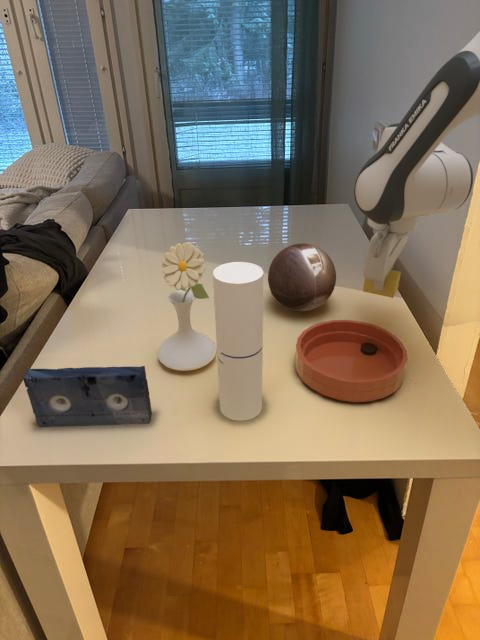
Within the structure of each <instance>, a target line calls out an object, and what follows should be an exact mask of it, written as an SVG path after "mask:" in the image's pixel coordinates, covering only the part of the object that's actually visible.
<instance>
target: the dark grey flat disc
mask: <svg viewBox="0 0 480 640" xmlns="http://www.w3.org/2000/svg"><path fill="white" fill-rule="evenodd" d="M360 351H361V352H362V353H363V354H365V355H374V354H376V351H377V347H376V346H375V345H374V344H372V343H363V344H362V345H361V349H360Z"/></svg>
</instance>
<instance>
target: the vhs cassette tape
mask: <svg viewBox="0 0 480 640" xmlns="http://www.w3.org/2000/svg"><path fill="white" fill-rule="evenodd" d="M22 381H23V383H24V387H25V388H27V389H26V393H27V396H28V399H29V401H30V405H31V408H32V412H33V415H34V416H35V421H36V423H37V426H38V427H40V428H43V427H45V428H47V427H73V426H108V425H109V426H110V425H136V424H139V425H140V424H149V423H150V422H151V418H152V415H153V411H152V404H151V397H150V390H149V389H150V388H149V385H148V379H147V372H146V366H145V365H142V366H106V367H105V366H89V367H87V366H86V367H63V368H27V371H26V372H25V373H24V375H23V378H22Z"/></svg>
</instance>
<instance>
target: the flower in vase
mask: <svg viewBox="0 0 480 640" xmlns="http://www.w3.org/2000/svg"><path fill="white" fill-rule="evenodd" d="M161 262H162V263H161V267H162V268H163V269H162V273H163V274H164V276H163V280H164V281H165V283H169V284H168V285H169V286H170V287H174V288H175V291H173V292H171V293H169V295H168V296H167V299H168V301H169V302H170V303H171V304H172V305H173V307H174V309H175V311H176V316H177V322H178V329H177V331H176V332H174V333H173V334H171V335H170V336H168V337H167V338H165V339H164V341H163V342H161V344H160V345H159V347H158V350H157V359H158V360H159V362H160V363H161V364H162V365H163V366H165V367H166V368H168V369H170V370H174V371H178V372H179V371H180V372H187V371H194V370H198V369H202V368H203V367H205V366H207V365H209V364H210V363H211V362H212V361H213V360H214V358H215V357H216V356H217V345H216V344H215V342H214V340H212V339H211V338H210V337H209V336H208V335H206V334H204V333H202V332H199V331H196V330H194V328H193V327H192V323H191V310H192V309H191V308H192V306H193V305H192V304H193V302H194V301H195V300H196V299H199V300H204V299H205V300H206V299H210V296H209V294H208V293H207V290H206V289H205V288H204V286H203V284H202V283H199V279H201V278H202V277H203V274H204V271H205V270H206V268H207V267H206V265H205V258H204V253H203V252H202V251H201V250H200V249H199V248H198V247H197V246H194V245H193V244H192V243H190V242H188V241H185V242H183V243H182V244H181V243H180V242H179V243H176V245H172V246H170V247H169V250H168V251H166V252H165V253H164V258H163V259H162V261H161Z"/></svg>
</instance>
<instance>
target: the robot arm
mask: <svg viewBox="0 0 480 640" xmlns="http://www.w3.org/2000/svg"><path fill="white" fill-rule="evenodd" d="M479 115H480V30H479V31H478V32H477V33H476V34H475V35H474V37H473V38H471V40H470V41H469V42H468V43H467V44H466V45H465V46H464V47H462V48H461V50H460V51H458V53H456V54H455V55H453V56H452V57H451V58H450V59H448V61H446V62H445V63H444V64H443V65H441V67H440V68H439V69H438V71H437V72H436V73H435V74H434V76H433V77H432V78H431V79H430V80H429V82H428V83H427V84H426V86H424V89H423V90H421V93H420V94H419V95H418V96H417V98H416V99H415V101H414V102H413V104H412V105H411V106H410V108H409V109H408V110H407V112H406V114H405V115H404V116H403V118H402V119H401V120H400V121H399V122H396V123H391V124H389V125H388V126H386V127H384V129H383V131H382V133H381V136H380V138H379V143H378V147H377V152H376V153H375V154H374V155H372V156H371V157H370V158H368V160H367V161H366V162H365V164H364V165H363V166H362V167H361V169H360V171H359V173H358V175H357V177H356V180H355V183H354V188H353V193H354V200H355V204H356V206H357V207H358V209H359V211H360V212H361V213H362V214H363V215H364V216H365V217H367V222H366V223H367V225H368V226H369V227H370V228H372V233H373V235H372V236H371V238H370V240H369V243H368V247H367V251H366V256H365V263H364V267H363V278H364V280H365V279H367V280H372V281H374V289H375V290H380V291H381V290H383V288H384V286H385V277H386V276H387V274H388V272H389V271H390V270H393V268H394V264H395V263H396V261H397V259H398V258H399V256H400V254H401V253H402V251H403V249H404V248H405V247H406V244H407V241H408V240H409V235H410V233H411V232H412V231H414V230H416V228H417V227H418V221H419V217H426V216H430V215H437V214H442V213H447V212H451V211H455V210H458V209H459V208H461V207H462V206H463V205H464V204H465V203H466V201H467V200H468V198H469V197H470V194H471V192H472V189H473V184H474V172H473V167H472V165H471V163H470V161H469V160H468V158H467V157H466V156H465V155H464V154H463V153H461V152H458V151H454V150H453V149H451V148H450V147H448V146H447V145H446V144H444V143H443V141H444V140H445V138H447V136H448V135H449V134H450V133H451V132H452V131H453V130H455V129H456V128H457V127H459V126H460V125H462V124H464V123H465V122H467V121H468V120H471V119H472V118H475V117H476V116H479Z"/></svg>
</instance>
